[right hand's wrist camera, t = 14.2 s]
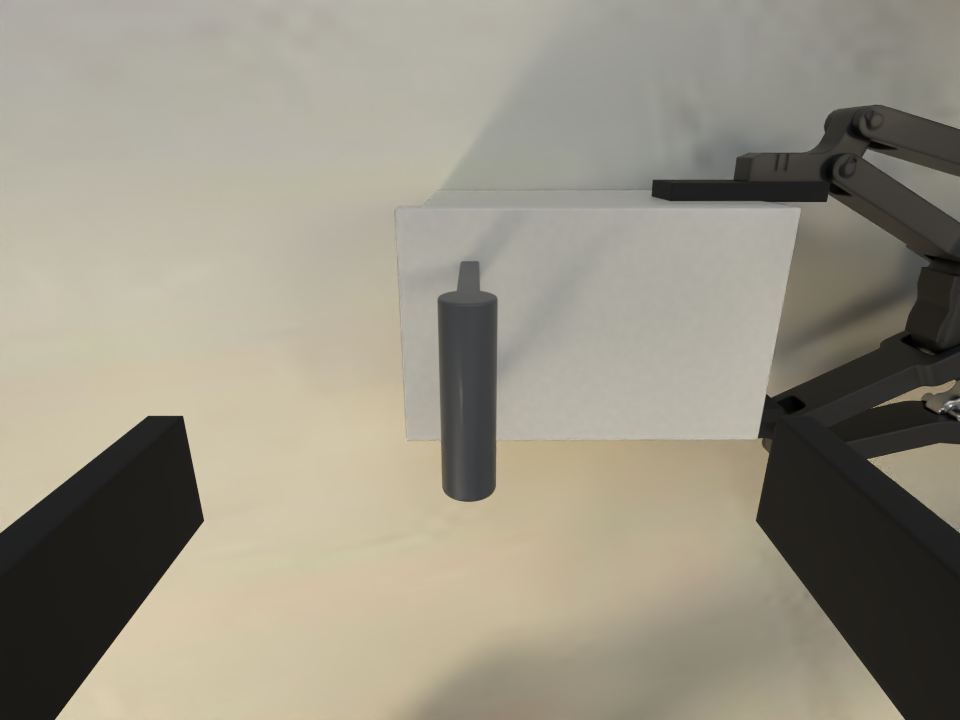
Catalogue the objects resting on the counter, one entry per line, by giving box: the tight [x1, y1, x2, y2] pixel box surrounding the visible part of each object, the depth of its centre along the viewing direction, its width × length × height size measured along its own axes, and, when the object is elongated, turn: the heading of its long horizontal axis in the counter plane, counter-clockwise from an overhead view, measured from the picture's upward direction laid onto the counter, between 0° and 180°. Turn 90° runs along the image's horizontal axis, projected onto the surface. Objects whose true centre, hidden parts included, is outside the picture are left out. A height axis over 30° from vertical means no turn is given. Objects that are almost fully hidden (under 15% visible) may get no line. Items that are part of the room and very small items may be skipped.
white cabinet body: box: [423, 190, 787, 206], centre depth 27 cm, size 14×10×10 cm
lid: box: [395, 206, 801, 502], centre depth 19 cm, size 15×10×8 cm, turn 90°
